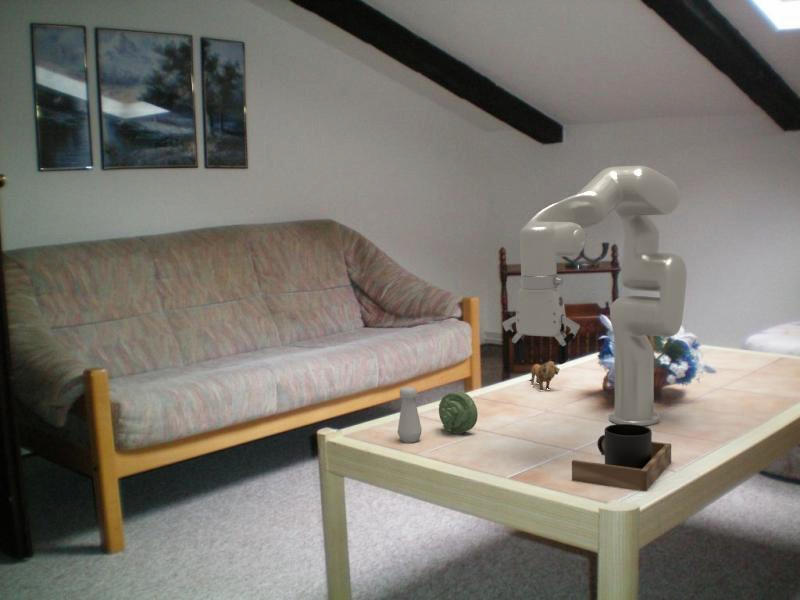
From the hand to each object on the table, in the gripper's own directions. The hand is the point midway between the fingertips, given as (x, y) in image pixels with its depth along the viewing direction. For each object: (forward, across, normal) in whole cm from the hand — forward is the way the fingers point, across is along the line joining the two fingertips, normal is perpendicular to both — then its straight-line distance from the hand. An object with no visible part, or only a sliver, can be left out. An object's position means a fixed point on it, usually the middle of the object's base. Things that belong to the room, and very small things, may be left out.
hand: (541, 361), depth 188 cm
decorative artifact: (+22, +27, -9) cm, 36 cm away
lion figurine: (+23, +25, -63) cm, 72 cm away
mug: (+22, -18, +1) cm, 28 cm away
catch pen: (+22, -17, +1) cm, 28 cm away
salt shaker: (+22, +34, 0) cm, 41 cm away
